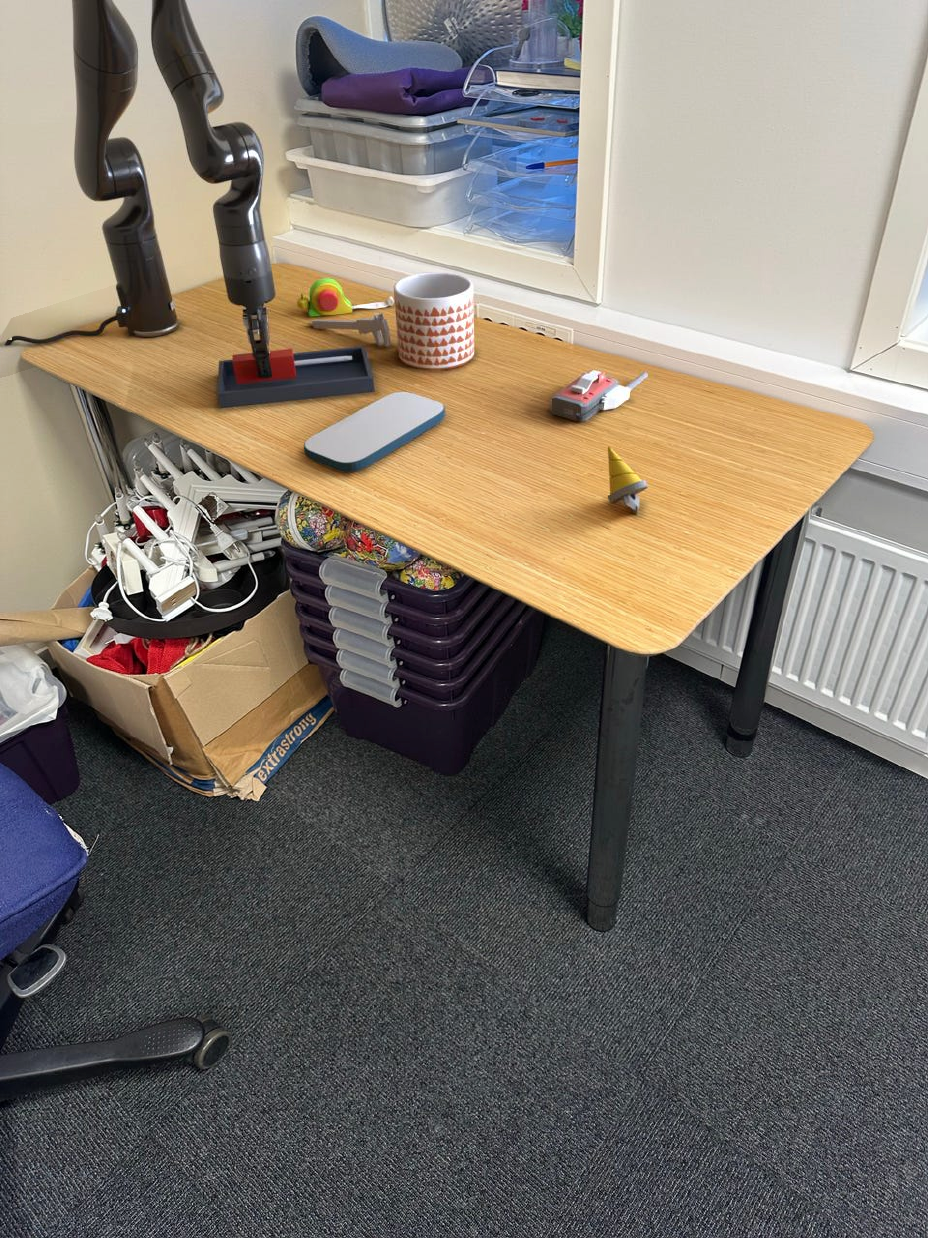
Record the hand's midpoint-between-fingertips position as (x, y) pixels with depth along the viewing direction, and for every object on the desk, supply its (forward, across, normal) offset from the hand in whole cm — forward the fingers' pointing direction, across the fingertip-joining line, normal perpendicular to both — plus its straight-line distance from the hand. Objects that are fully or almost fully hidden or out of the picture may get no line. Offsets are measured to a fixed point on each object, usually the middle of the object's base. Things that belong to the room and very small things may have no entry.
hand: (265, 372), depth 148 cm
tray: (+3, 0, +5) cm, 6 cm away
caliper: (+3, -19, +16) cm, 25 cm away
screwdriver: (+1, 0, +5) cm, 5 cm away
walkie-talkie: (+3, +18, +53) cm, 56 cm away
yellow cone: (+3, +49, +46) cm, 68 cm away
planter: (+3, -6, +30) cm, 31 cm away
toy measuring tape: (+3, -33, +16) cm, 37 cm away
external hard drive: (+3, +22, +16) cm, 28 cm away
